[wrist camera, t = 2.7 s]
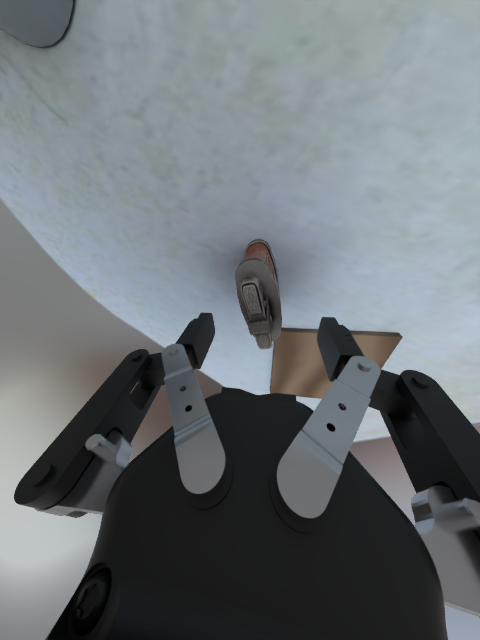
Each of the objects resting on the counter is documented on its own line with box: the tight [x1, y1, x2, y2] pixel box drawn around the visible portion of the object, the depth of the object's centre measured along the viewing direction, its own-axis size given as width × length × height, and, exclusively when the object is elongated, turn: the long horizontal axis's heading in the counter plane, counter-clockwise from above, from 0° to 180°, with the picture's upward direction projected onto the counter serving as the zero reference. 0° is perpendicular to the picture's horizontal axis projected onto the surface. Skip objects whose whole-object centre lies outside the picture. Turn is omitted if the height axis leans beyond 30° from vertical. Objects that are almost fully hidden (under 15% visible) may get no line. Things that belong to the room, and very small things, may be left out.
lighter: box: [235, 239, 282, 349], centre depth 16 cm, size 8×3×10 cm, turn 16°
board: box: [270, 328, 402, 399], centre depth 28 cm, size 16×16×1 cm
